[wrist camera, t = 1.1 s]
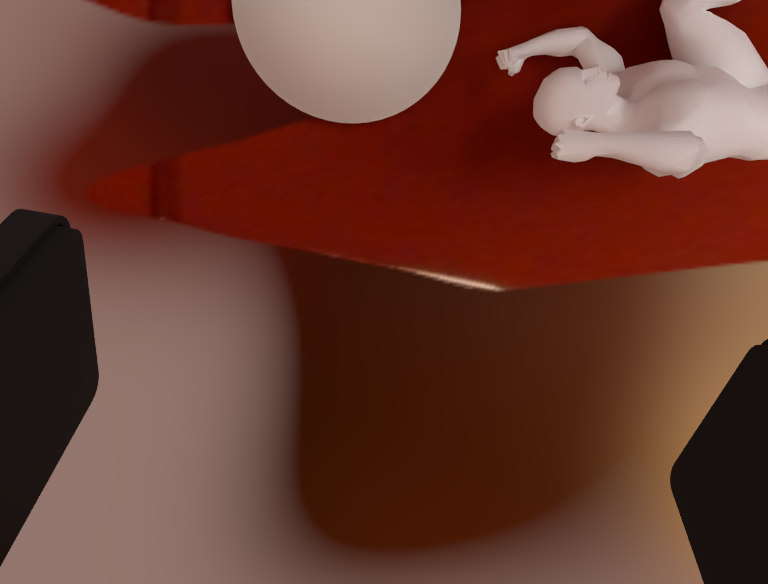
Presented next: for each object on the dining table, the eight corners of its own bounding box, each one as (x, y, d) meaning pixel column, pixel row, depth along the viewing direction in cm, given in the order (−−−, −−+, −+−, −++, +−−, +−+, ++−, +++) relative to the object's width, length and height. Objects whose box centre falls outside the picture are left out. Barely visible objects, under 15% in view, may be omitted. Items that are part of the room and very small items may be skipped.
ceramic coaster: (246, -150, 32) (240, -148, 31) (490, -87, 33) (490, -84, 32) (228, 89, 39) (224, 96, 39) (428, 136, 40) (428, 144, 39)
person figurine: (1075, -133, 21) (568, 177, 26) (1037, 145, 30) (657, 343, 34) (810, -194, 31) (471, 41, 35) (836, 30, 39) (559, 197, 44)
